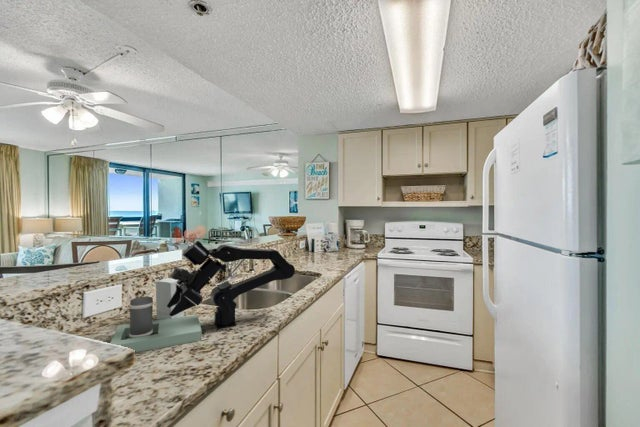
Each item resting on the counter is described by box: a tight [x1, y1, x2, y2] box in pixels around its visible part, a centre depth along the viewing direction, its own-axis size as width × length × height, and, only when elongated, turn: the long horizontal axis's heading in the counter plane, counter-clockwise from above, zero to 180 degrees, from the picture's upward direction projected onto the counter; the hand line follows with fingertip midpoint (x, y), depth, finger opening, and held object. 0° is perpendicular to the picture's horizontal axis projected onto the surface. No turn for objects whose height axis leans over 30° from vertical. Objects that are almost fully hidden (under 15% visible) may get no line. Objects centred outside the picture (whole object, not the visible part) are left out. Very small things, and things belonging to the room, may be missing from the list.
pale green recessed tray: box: [110, 314, 203, 353], centre depth 92 cm, size 24×16×3 cm, turn 118°
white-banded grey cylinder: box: [128, 296, 154, 339], centre depth 89 cm, size 6×6×13 cm
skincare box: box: [155, 277, 185, 320], centre depth 108 cm, size 8×6×15 cm
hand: (169, 311), depth 94 cm, fingers open, 9 cm apart
